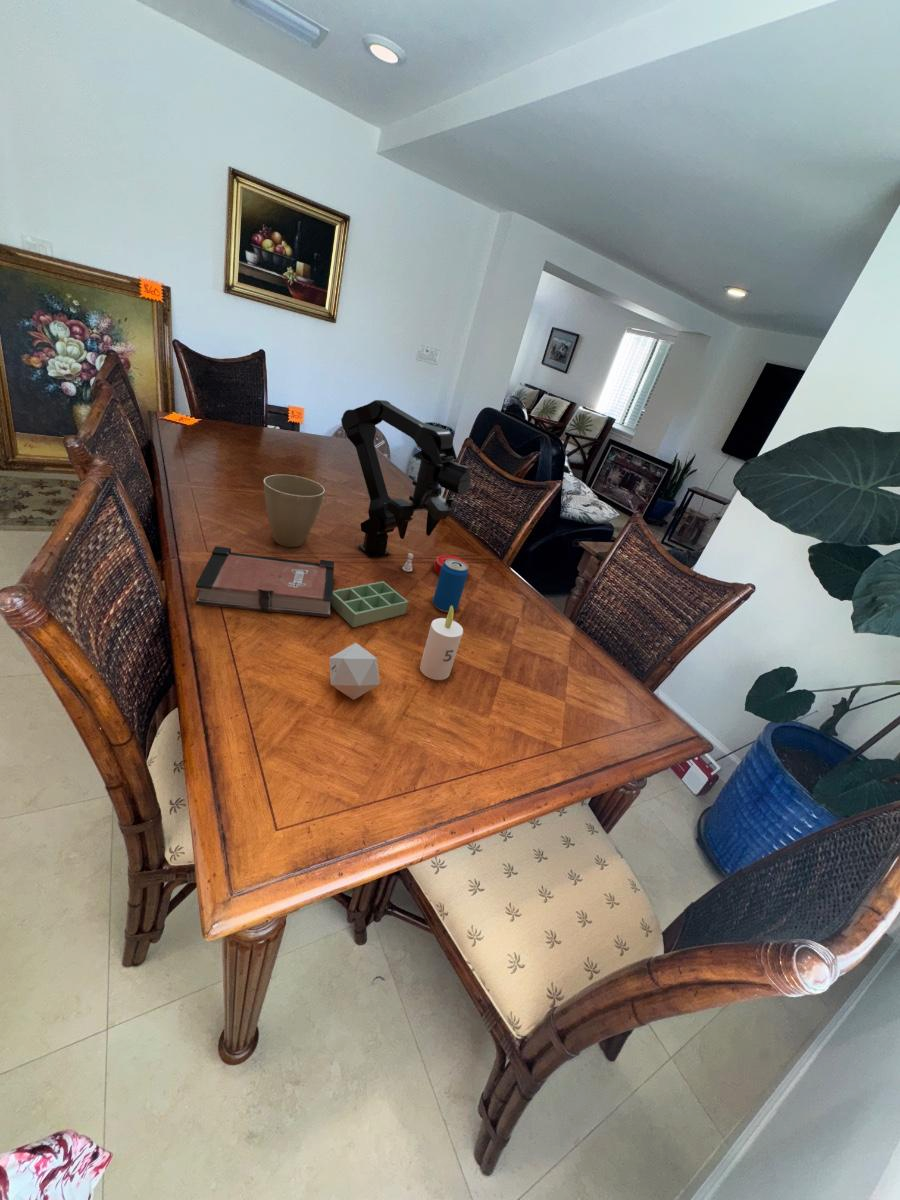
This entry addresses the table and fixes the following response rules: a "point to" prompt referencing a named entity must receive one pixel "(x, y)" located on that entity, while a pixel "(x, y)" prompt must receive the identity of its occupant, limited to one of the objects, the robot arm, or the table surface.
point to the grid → (368, 603)
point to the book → (266, 583)
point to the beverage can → (450, 585)
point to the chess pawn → (408, 563)
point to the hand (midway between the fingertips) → (415, 536)
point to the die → (354, 671)
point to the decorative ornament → (441, 561)
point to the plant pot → (291, 507)
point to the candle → (441, 647)
